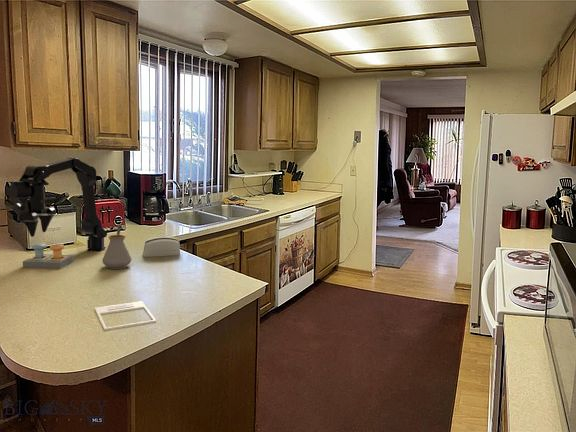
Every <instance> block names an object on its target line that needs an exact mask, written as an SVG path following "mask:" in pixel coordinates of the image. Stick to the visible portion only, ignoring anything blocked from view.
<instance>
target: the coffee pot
mask: <svg viewBox="0 0 576 432" xmlns="http://www.w3.org/2000/svg"><path fill="white" fill-rule="evenodd" d="M122 227H123V225H121V224H118V225H117V230H116V234H112V235H108V239H109V244H108V245H107V249H106V250H105V252H104V255H103V257H102V261H101V262H102V264H103V265H104V266H105V267H107V268H108V269H112V270H118V269H119V270H120V269H124V268H127V266H129V264H131V262H132V260H133V259H132V257H131V255H130V253H129V251H128V248H127V247H126V243H124V240H125V239H126V236H125V235H122V234H120V233H121V229H122Z"/></svg>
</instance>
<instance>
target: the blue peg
mask: <svg viewBox="0 0 576 432" xmlns="http://www.w3.org/2000/svg"><path fill="white" fill-rule="evenodd" d="M31 249H32V250H34V256H35V259H43V258H44V254H45V253H44V249H47V244H46V243H34V244H32V245H31Z"/></svg>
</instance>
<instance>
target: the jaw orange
mask: <svg viewBox="0 0 576 432" xmlns="http://www.w3.org/2000/svg"><path fill="white" fill-rule="evenodd" d="M49 249H50V250H51V251H52V255H53V259H62V255H63V252H62V251H63V250H64V249H65V245H64V244H63V243H61V244H59V243H55V244H51V245H50V246H49Z"/></svg>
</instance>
